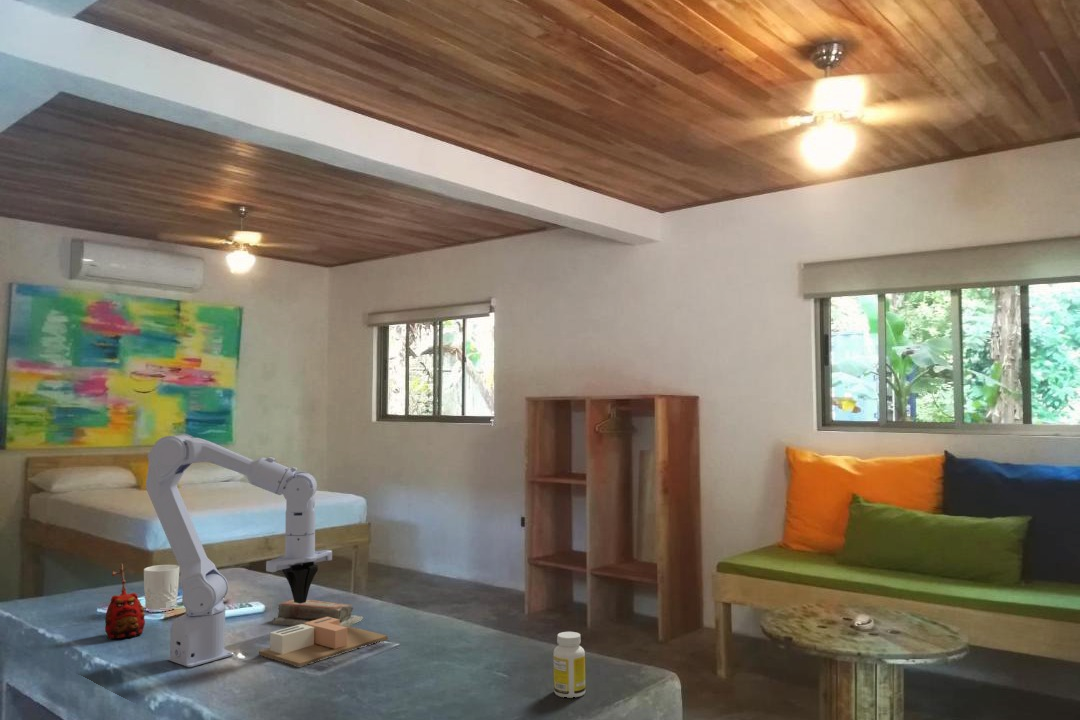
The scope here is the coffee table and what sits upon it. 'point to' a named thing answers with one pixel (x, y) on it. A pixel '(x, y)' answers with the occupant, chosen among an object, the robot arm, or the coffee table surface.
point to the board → (325, 648)
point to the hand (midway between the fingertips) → (300, 602)
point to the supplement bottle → (569, 666)
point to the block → (329, 632)
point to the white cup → (161, 586)
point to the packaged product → (314, 613)
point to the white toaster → (291, 638)
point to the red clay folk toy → (124, 614)
